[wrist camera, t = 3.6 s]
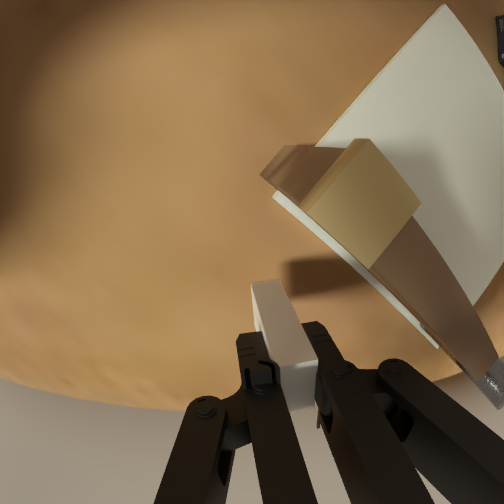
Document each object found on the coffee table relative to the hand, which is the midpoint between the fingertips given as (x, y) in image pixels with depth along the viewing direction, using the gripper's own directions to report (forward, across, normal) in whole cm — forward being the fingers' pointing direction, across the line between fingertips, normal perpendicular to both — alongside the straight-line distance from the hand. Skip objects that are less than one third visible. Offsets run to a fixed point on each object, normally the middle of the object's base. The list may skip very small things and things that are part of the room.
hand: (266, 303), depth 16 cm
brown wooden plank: (+1, +7, +2) cm, 7 cm away
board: (+3, +16, +5) cm, 17 cm away
